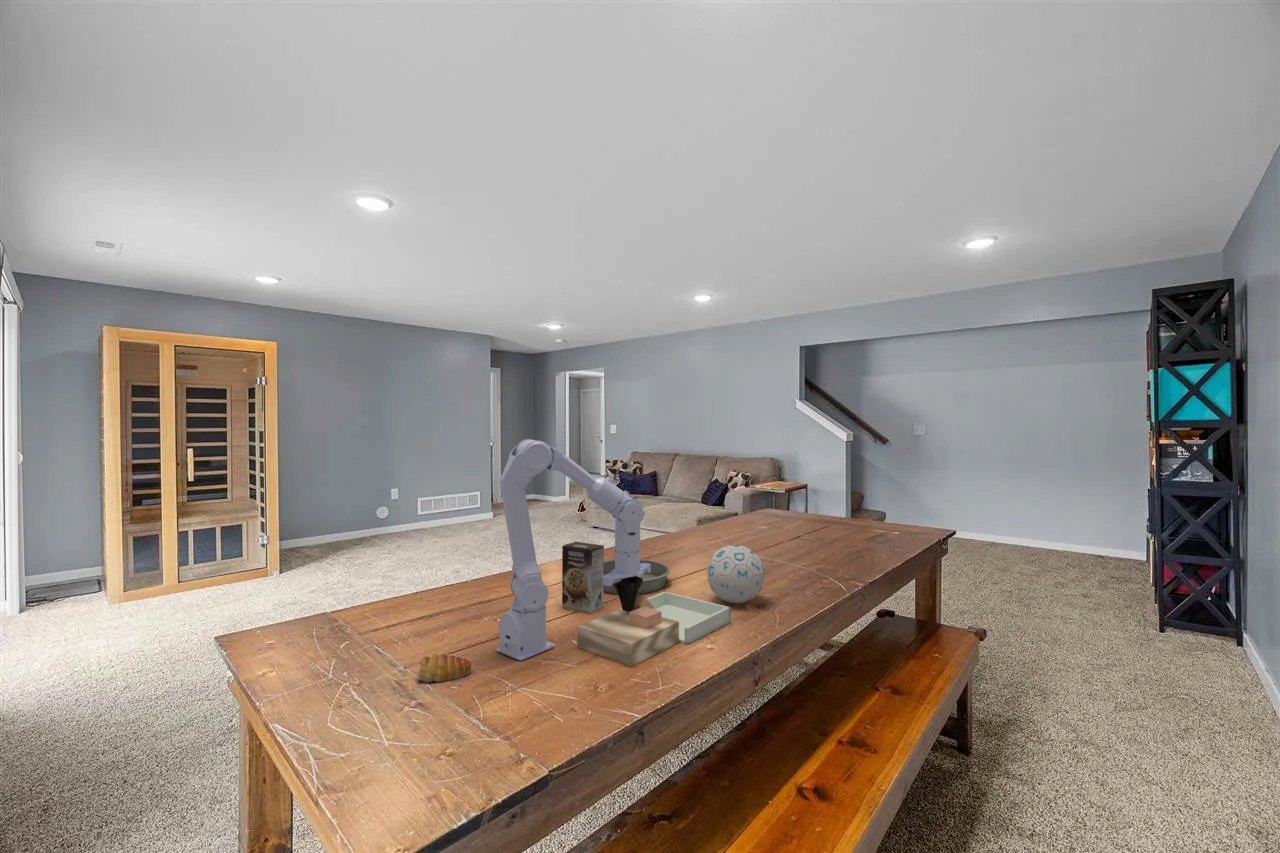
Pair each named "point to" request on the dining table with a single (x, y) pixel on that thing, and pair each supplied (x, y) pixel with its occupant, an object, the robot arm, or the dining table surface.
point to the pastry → (443, 668)
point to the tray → (691, 614)
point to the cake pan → (650, 580)
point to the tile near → (645, 617)
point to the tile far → (642, 602)
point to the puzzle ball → (735, 574)
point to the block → (626, 637)
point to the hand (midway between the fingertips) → (627, 610)
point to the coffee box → (582, 576)
